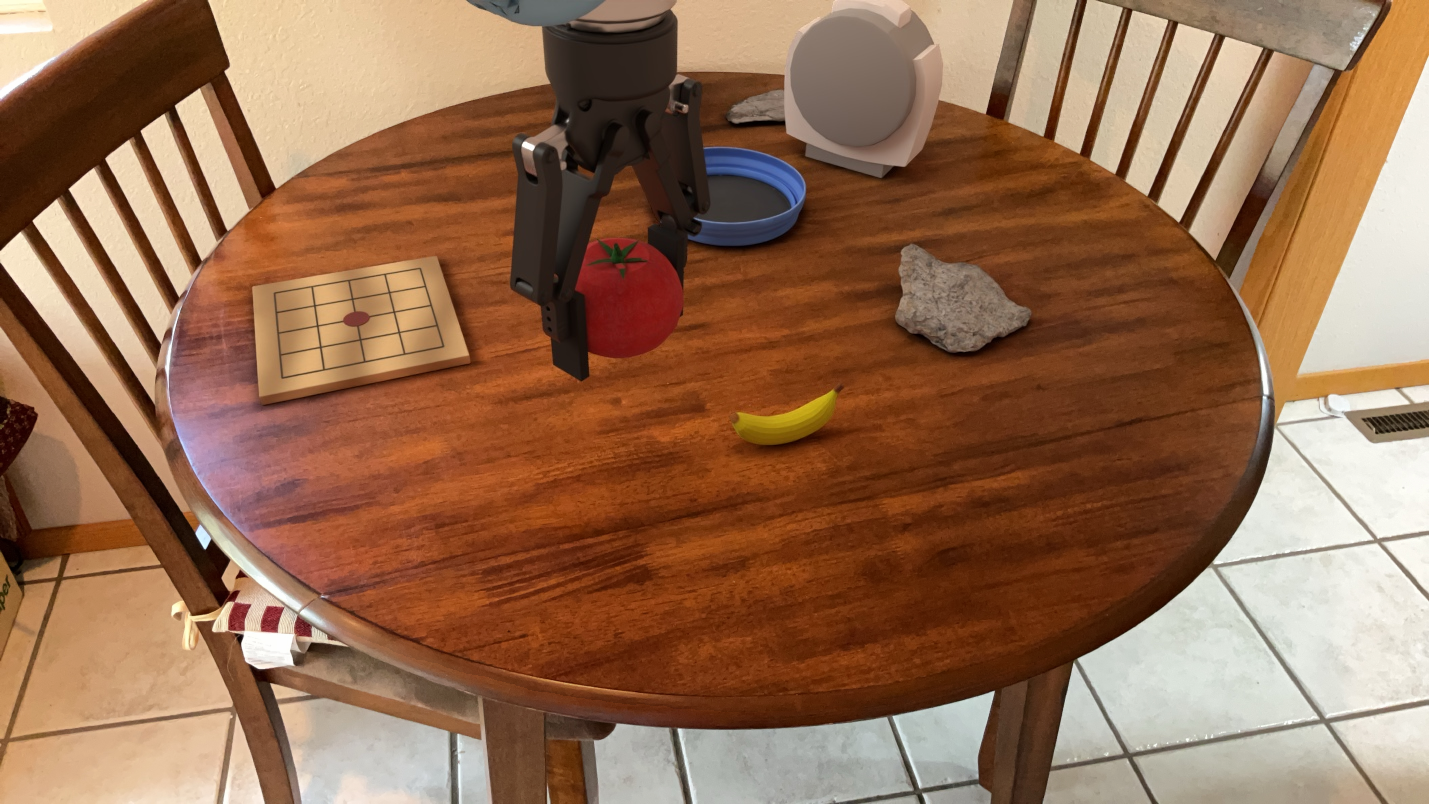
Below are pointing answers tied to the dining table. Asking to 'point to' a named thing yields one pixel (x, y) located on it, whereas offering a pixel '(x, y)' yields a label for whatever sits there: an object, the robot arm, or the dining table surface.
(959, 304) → the rock
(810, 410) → the fruit
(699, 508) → the dining table surface
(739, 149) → the bowl
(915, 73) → the alarm clock
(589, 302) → the tomato
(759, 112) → the stone
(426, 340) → the board
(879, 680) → the dining table surface
